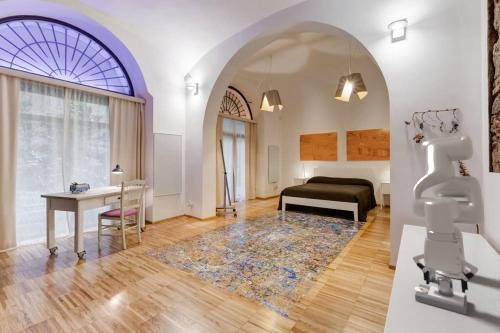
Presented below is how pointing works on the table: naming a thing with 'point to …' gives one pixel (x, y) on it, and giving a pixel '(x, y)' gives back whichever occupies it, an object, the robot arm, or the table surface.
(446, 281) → the cylinder
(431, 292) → the scale
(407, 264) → the table surface
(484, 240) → the table surface
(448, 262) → the robot arm
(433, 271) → the cylinder
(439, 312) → the table surface
